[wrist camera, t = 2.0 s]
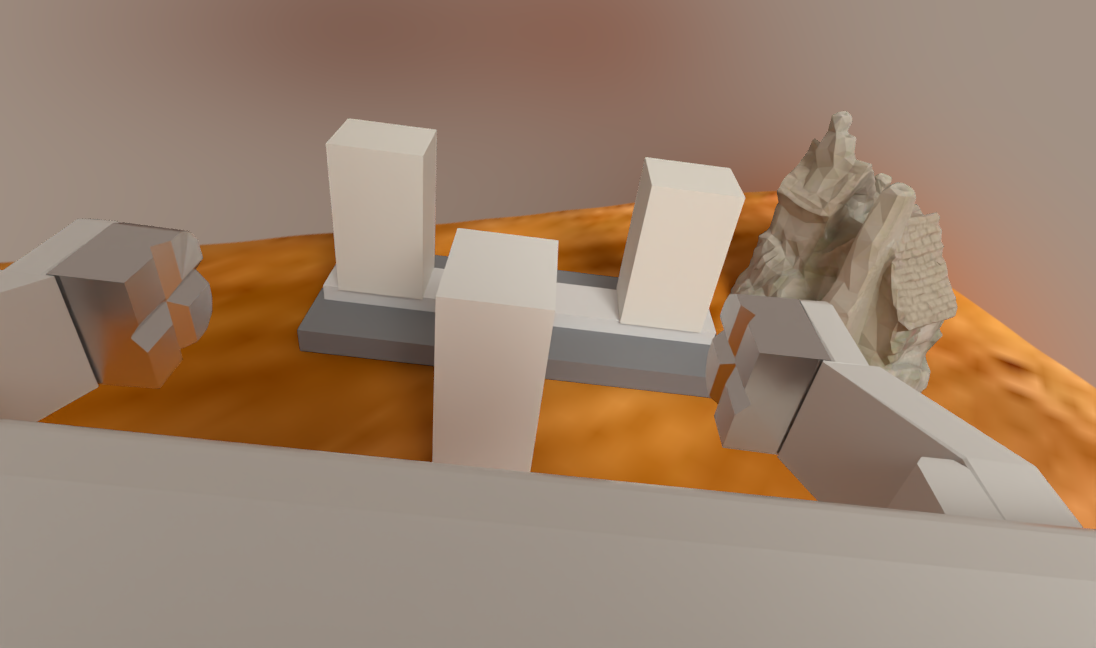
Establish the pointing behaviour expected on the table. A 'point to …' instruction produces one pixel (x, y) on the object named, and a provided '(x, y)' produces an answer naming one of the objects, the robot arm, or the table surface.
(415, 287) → the white u-shaped stand
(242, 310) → the table surface
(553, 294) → the block
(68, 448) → the robot arm
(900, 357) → the stone castle model
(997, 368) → the table surface
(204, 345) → the table surface
